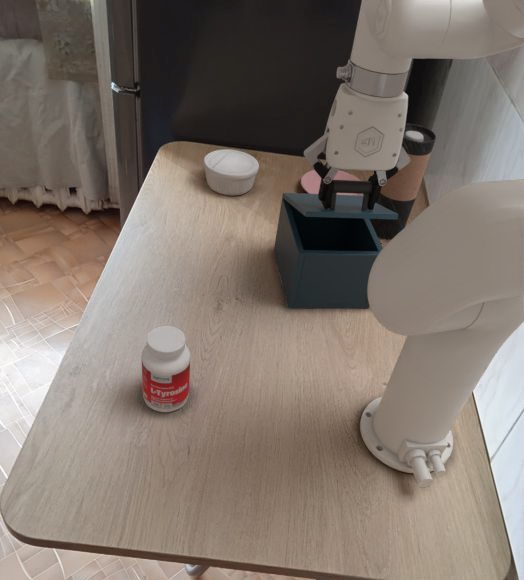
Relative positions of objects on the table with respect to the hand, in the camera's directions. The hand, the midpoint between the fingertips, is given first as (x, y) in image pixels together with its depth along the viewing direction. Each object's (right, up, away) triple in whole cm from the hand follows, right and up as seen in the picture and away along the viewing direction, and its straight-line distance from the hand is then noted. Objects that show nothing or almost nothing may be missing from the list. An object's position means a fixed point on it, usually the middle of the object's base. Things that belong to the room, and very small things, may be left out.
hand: (346, 203), depth 85 cm
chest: (-3, -9, +15) cm, 18 cm away
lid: (-1, +1, +5) cm, 5 cm away
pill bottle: (-26, -28, -7) cm, 39 cm away
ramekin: (-20, +13, +34) cm, 41 cm away
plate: (+2, +11, +37) cm, 39 cm away
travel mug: (+12, +2, +29) cm, 32 cm away
